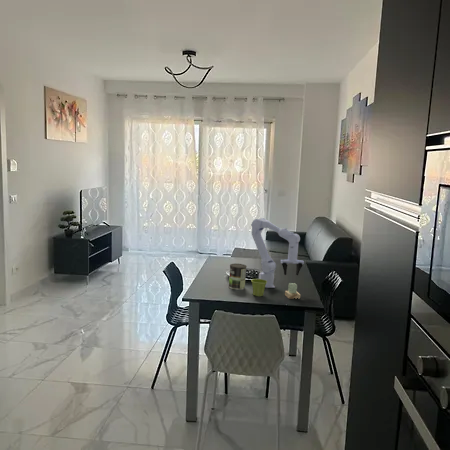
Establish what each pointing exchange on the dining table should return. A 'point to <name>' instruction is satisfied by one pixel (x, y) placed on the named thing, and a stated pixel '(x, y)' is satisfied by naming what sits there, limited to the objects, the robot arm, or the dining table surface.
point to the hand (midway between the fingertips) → (291, 274)
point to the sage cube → (292, 288)
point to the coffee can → (237, 276)
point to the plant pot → (258, 286)
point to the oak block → (292, 295)
